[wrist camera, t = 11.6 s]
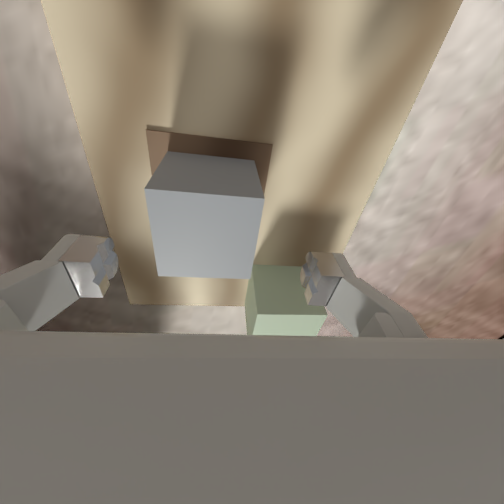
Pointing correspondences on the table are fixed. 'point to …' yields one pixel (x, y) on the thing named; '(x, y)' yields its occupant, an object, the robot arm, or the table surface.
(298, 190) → the beige flat board
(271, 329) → the sage block
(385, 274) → the table surface
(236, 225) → the grey block
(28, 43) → the table surface
